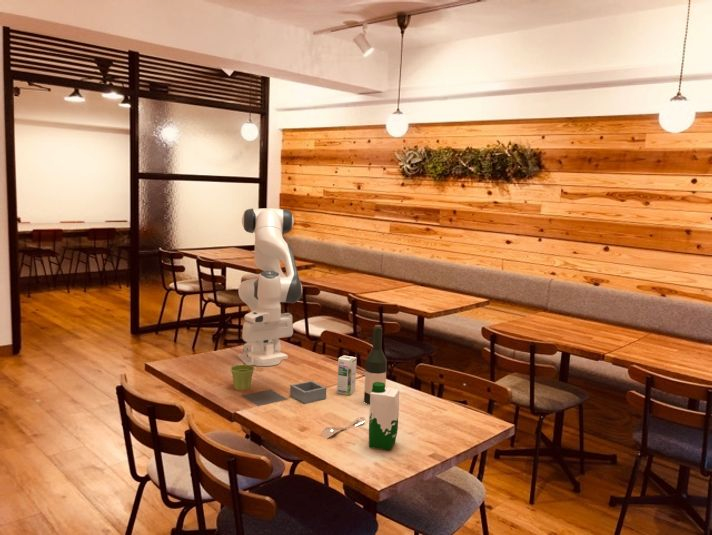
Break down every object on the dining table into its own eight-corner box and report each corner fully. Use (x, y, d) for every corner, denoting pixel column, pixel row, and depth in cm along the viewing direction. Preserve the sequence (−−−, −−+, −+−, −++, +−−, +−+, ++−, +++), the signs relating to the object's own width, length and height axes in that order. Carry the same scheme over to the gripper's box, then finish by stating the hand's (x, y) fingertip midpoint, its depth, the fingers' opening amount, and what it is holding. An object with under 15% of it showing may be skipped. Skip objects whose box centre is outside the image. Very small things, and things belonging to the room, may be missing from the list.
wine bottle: (370, 396, 238) (373, 322, 234) (388, 400, 233) (392, 325, 229) (359, 402, 231) (363, 325, 226) (378, 407, 226) (382, 329, 222)
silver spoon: (358, 409, 213) (368, 413, 210) (358, 419, 214) (368, 423, 211) (318, 428, 198) (328, 433, 195) (318, 438, 199) (328, 443, 196)
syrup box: (336, 393, 239) (337, 358, 237) (342, 389, 245) (344, 354, 243) (349, 396, 237) (350, 360, 235) (355, 391, 242) (357, 356, 240)
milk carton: (372, 437, 199) (375, 379, 196) (398, 441, 197) (402, 382, 194) (365, 448, 191) (368, 387, 188) (393, 452, 188) (396, 391, 186)
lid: (247, 355, 229) (248, 342, 228) (273, 351, 235) (273, 338, 235) (262, 362, 220) (262, 349, 219) (287, 358, 227) (288, 345, 226)
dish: (289, 397, 233) (290, 385, 232) (311, 392, 239) (311, 380, 238) (304, 405, 225) (304, 392, 224) (326, 400, 231) (326, 387, 230)
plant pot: (246, 394, 234) (247, 373, 232) (225, 391, 237) (225, 369, 235) (258, 387, 242) (258, 366, 241) (237, 384, 245) (237, 363, 244)
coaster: (240, 396, 231) (240, 395, 231) (270, 390, 239) (270, 389, 239) (257, 407, 221) (257, 405, 221) (287, 400, 229) (287, 399, 229)
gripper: (288, 310, 234) (287, 344, 236) (240, 315, 222) (240, 352, 224) (296, 313, 230) (295, 348, 231) (248, 319, 217) (248, 356, 219)
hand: (267, 350), depth 228 cm, fingers closed on lid, 3 cm apart
